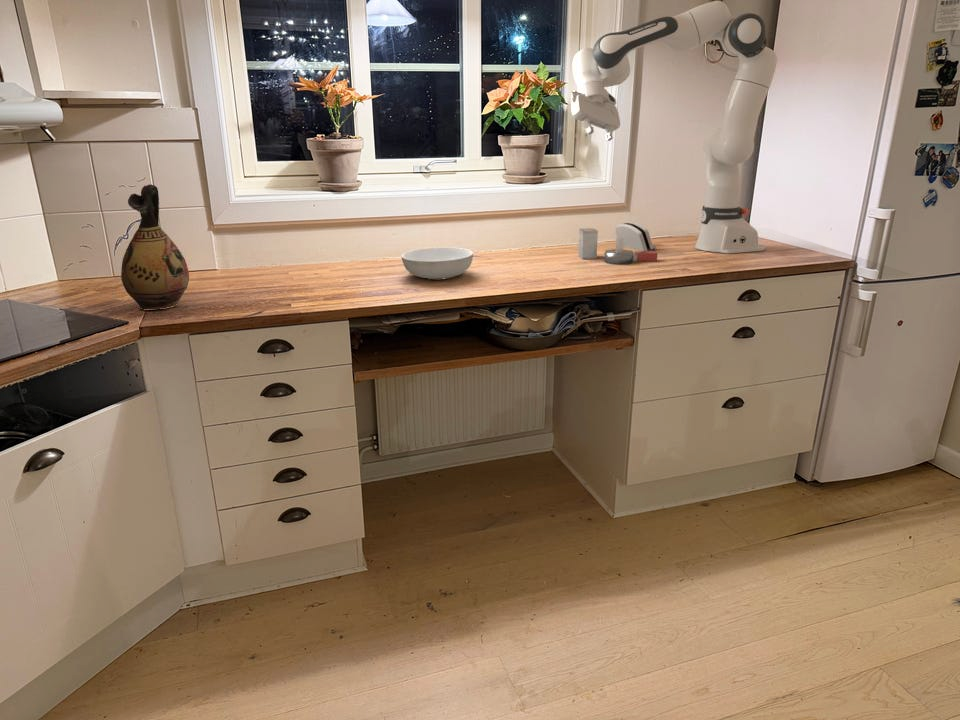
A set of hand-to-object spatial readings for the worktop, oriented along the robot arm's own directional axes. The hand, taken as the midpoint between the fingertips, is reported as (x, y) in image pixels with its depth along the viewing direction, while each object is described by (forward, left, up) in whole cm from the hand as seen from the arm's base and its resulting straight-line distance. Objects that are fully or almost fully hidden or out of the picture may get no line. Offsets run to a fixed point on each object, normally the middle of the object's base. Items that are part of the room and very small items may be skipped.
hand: (600, 136), depth 217 cm
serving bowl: (+55, +25, -38) cm, 71 cm away
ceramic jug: (+127, +45, -38) cm, 140 cm away
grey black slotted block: (-15, -5, -38) cm, 41 cm away
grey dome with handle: (-7, +15, -37) cm, 41 cm away
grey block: (+5, +7, -37) cm, 38 cm away
